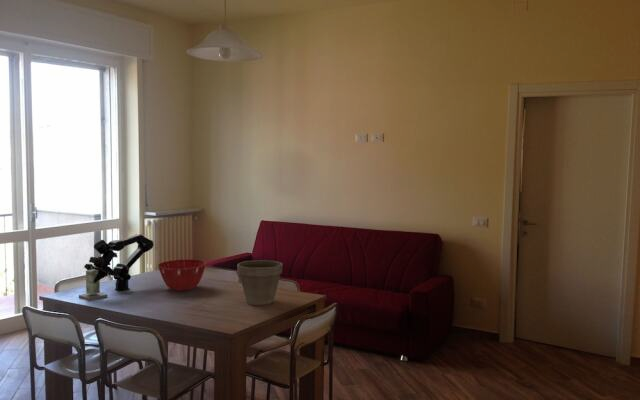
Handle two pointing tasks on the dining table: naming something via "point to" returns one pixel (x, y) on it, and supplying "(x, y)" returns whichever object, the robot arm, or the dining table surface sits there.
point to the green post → (92, 282)
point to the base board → (93, 296)
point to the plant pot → (259, 280)
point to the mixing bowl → (182, 273)
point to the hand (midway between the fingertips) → (90, 281)
